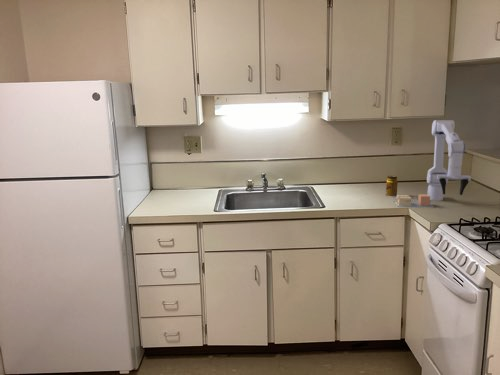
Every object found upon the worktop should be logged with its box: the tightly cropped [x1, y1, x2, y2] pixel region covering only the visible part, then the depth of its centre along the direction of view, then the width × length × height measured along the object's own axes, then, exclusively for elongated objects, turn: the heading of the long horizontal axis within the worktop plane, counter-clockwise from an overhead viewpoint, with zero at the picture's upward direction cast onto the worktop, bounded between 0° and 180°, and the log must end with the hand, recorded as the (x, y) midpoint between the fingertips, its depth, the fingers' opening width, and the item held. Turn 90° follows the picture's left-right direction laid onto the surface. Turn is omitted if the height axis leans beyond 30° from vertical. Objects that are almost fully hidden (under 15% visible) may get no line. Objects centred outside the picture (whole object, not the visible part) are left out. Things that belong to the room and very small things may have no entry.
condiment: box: [385, 175, 398, 197], centre depth 241 cm, size 7×8×12 cm
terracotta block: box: [417, 193, 431, 206], centre depth 219 cm, size 4×4×5 cm
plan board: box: [392, 200, 435, 208], centre depth 222 cm, size 12×18×1 cm, turn 84°
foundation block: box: [395, 194, 412, 205], centre depth 222 cm, size 6×6×4 cm
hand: (452, 194), depth 204 cm, fingers open, 7 cm apart
